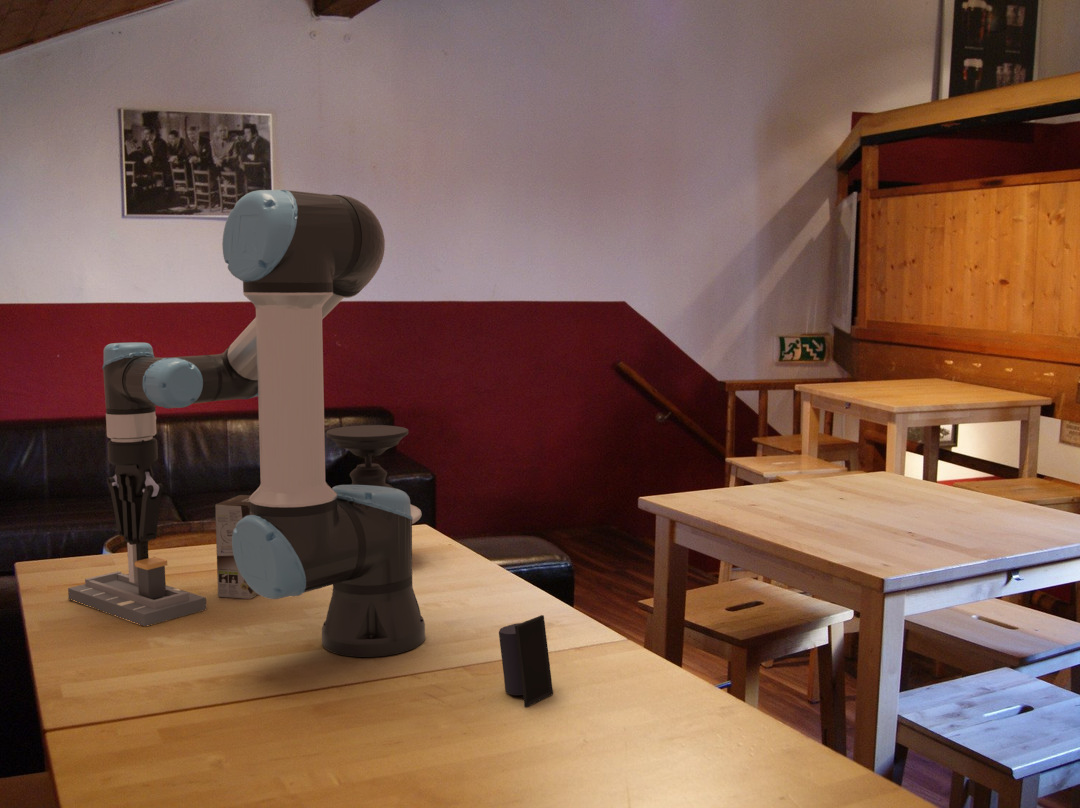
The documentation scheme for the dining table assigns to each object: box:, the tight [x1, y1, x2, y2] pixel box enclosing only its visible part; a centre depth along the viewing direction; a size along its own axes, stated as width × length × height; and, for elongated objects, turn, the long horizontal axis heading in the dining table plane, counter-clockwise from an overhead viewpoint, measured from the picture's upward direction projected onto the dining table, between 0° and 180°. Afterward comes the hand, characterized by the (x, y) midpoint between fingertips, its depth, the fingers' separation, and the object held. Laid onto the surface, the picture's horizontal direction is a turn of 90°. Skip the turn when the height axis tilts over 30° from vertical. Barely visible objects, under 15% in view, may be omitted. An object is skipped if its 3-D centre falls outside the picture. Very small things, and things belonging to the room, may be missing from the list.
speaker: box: [498, 614, 554, 708], centre depth 135 cm, size 8×6×10 cm
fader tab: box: [135, 556, 168, 599], centre depth 169 cm, size 4×4×6 cm
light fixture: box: [326, 424, 423, 525], centre depth 196 cm, size 20×20×25 cm
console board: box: [67, 570, 208, 627], centre depth 172 cm, size 23×11×3 cm, turn 52°
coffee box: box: [214, 494, 259, 600], centre depth 179 cm, size 9×6×16 cm
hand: (139, 580), depth 171 cm, fingers closed
